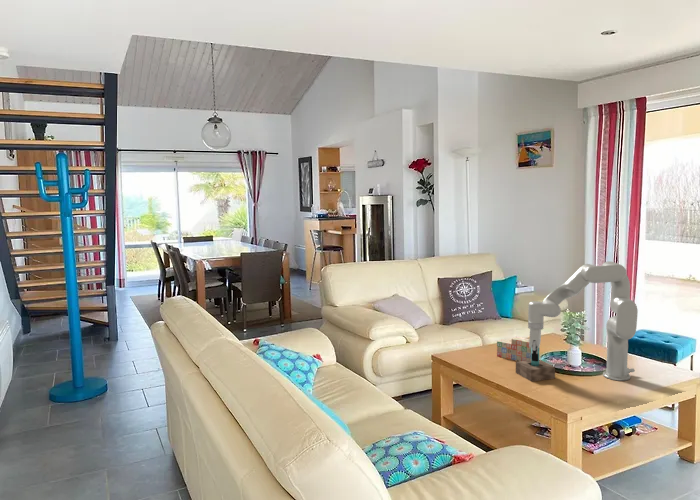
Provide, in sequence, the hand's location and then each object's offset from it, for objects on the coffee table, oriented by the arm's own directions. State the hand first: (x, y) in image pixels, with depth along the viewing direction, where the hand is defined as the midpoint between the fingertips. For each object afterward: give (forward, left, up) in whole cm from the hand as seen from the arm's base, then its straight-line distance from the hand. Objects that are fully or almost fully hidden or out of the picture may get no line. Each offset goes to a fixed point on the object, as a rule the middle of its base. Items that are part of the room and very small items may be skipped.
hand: (535, 359), depth 278 cm
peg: (0, 0, -4) cm, 4 cm away
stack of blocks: (-7, -28, -9) cm, 30 cm away
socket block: (0, 0, -9) cm, 9 cm away
